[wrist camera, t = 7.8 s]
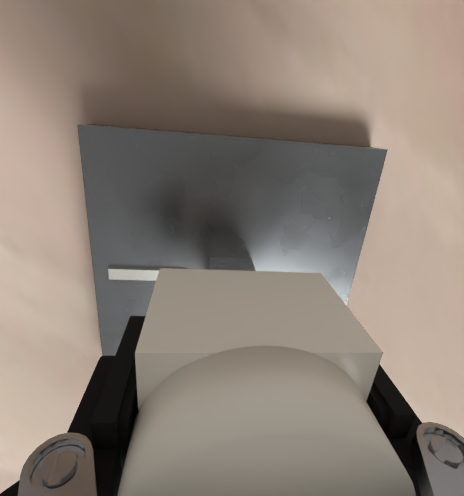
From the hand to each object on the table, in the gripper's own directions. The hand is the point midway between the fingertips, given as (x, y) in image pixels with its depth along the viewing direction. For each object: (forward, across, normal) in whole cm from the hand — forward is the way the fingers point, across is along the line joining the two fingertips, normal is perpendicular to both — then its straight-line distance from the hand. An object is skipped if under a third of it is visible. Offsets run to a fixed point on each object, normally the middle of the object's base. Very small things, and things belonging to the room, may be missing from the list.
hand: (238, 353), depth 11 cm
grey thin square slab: (+7, 0, 0) cm, 7 cm away
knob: (+1, 0, 0) cm, 1 cm away
